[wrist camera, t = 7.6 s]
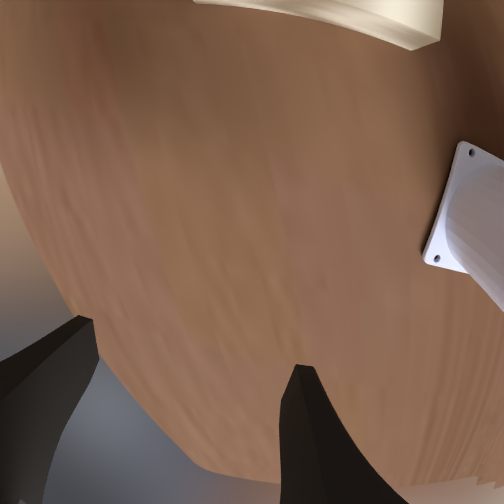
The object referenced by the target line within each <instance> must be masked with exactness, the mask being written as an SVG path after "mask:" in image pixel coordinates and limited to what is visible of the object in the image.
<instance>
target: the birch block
mask: <svg viewBox="0 0 504 504" xmlns="http://www.w3.org/2000/svg"><path fill="white" fill-rule="evenodd" d="M193 1H194V2H195V3H200V4H217V5H229V6H239V7H248V8H255V9H262V10H269V11H275V12H281V13H286V14H291V15H296V16H301V17H306V18H310V19H315V20H319V21H323V22H327V23H330V24H334V25H338V26H341V27H345V28H348V29H352V30H355V31H358V32H361V33H364V34H367V35H370V36H373V37H376V38H379V39H382V40H385V41H387V42H390V43H393V44H395V45H398V46H400V47H403V48H405V49H408V50H410V51H412V50H415V49H418V48H421V47H423V46H426V45H429V44H432V43H435V42H437V41H440V36H441V27H442V16H443V3H444V0H193Z"/></svg>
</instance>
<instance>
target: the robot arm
mask: <svg viewBox="0 0 504 504" xmlns="http://www.w3.org/2000/svg"><path fill="white" fill-rule="evenodd" d="M470 149H471V150H472V154H471V155H470V156H469V150H470ZM436 255H438V257H437V259H435V260H434V257H435V256H436ZM422 257H423V260H424V261H425V262H426V263H427V264H430V265H434V266H439V267H443V268H447V269H451V270H456V271H460V272H464V273H468V274H470V275H471V276H472V278H473V279H474V280H475V281H476V282H477V283H478V284H479V285H480V286H481V287H482V288H483V289H484V290H485V292H486V293H487V294H488V295H489V296H490V297H491V298H492V299H493V300H494V302H495V303H496V304H497V305H498V306H499V307H500V308H501V310H502V311H503V312H504V161H503V160H501V159H499V158H497V157H496V156H494V155H492V154H490V153H488V152H486V151H484V150H482V149H480V148H478V147H476V146H474V145H472V144H470V143H468V142H465V141H461V142H459V143H458V145H457V148H456V152H455V156H454V160H453V164H452V168H451V171H450V175H449V178H448V182H447V185H446V189H445V192H444V195H443V198H442V201H441V204H440V207H439V210H438V213H437V216H436V219H435V222H434V225H433V228H432V231H431V233H430V236H429V239H428V241H427V244H426V247H425V249H424V252H423V255H422ZM98 361H99V355H98V349H97V343H96V338H95V331H94V325H93V319H90V318H86V317H83V316H80V315H78V316H76V317H75V318H73V319H71V320H70V321H68V322H67V323H65V324H63V325H62V326H60V327H59V328H57V329H56V330H54V331H53V332H51V333H49V334H48V335H46V336H45V337H43V338H41V339H40V340H38V341H37V342H35V343H34V344H32V345H30V346H28V347H26V348H25V349H23V350H21V351H20V352H18V353H16V354H14V355H13V356H11V357H9V358H7V359H5V360H3V361H1V362H0V504H42V499H43V494H44V489H45V484H46V480H47V476H48V472H49V469H50V466H51V462H52V459H53V456H54V452H55V450H56V447H57V444H58V442H59V439H60V436H61V434H62V432H63V430H64V428H65V425H66V424H67V422H68V420H69V418H70V416H71V415H72V413H73V411H74V409H75V408H76V406H77V404H78V402H79V400H80V398H81V397H82V395H83V393H84V392H85V390H86V388H87V386H88V385H89V383H90V380H91V378H92V376H93V374H94V371H95V369H96V366H97V364H98ZM279 438H280V461H281V497H280V504H409V503H408V502H406V501H405V500H404V499H403V498H402V497H401V496H400V495H398V494H397V493H396V492H395V491H394V490H393V489H392V488H391V487H390V486H389V485H388V484H387V483H386V482H385V481H384V480H383V478H382V477H381V476H380V475H379V474H378V473H377V472H376V471H375V470H374V468H373V467H372V466H371V465H370V464H369V462H368V461H367V460H366V458H365V457H364V456H363V454H362V453H361V452H360V450H359V449H358V448H357V446H356V445H355V443H354V442H353V440H352V439H351V437H350V435H349V434H348V432H347V431H346V429H345V427H344V426H343V424H342V422H341V421H340V419H339V417H338V415H337V413H336V411H335V410H334V408H333V406H332V404H331V402H330V400H329V398H328V396H327V394H326V392H325V390H324V388H323V386H322V384H321V381H320V379H319V377H318V375H317V373H316V370H315V369H314V367H313V366H305V365H298V364H296V365H295V367H294V370H293V372H292V375H291V377H290V380H289V382H288V385H287V387H286V390H285V392H284V394H283V397H282V399H281V407H280V419H279Z"/></svg>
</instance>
